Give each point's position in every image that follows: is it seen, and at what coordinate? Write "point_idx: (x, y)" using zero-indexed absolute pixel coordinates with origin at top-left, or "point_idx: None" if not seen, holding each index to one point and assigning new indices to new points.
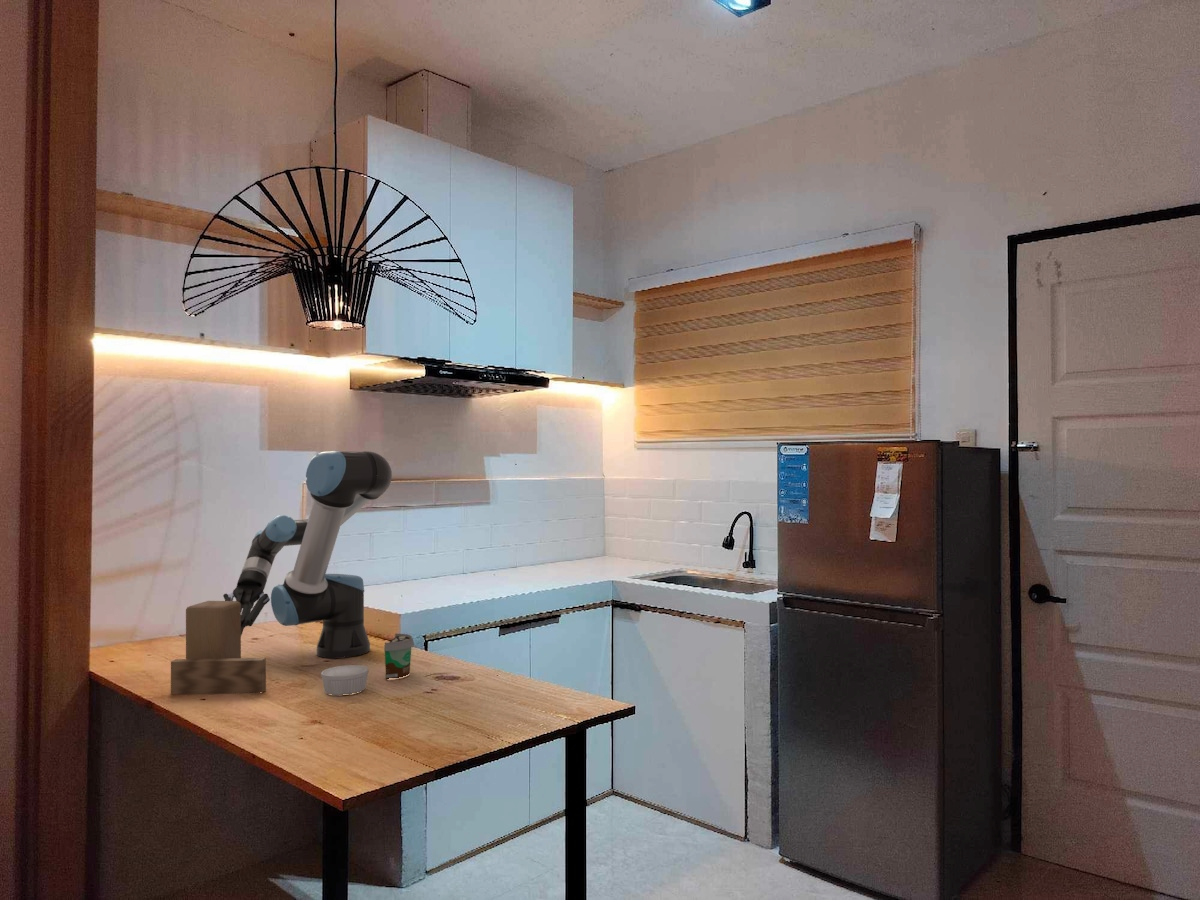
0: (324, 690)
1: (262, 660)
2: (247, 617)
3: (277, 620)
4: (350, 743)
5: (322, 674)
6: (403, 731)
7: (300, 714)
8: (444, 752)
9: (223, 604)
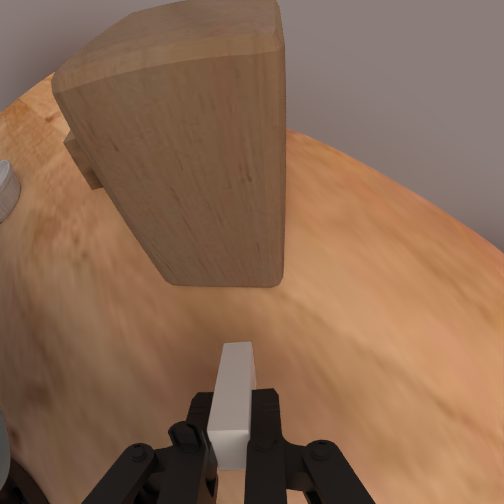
0: (19, 188)
1: (70, 131)
2: (140, 470)
3: (2, 424)
4: (40, 101)
5: (9, 164)
6: (6, 127)
7: (58, 127)
8: (4, 113)
9: (122, 21)
